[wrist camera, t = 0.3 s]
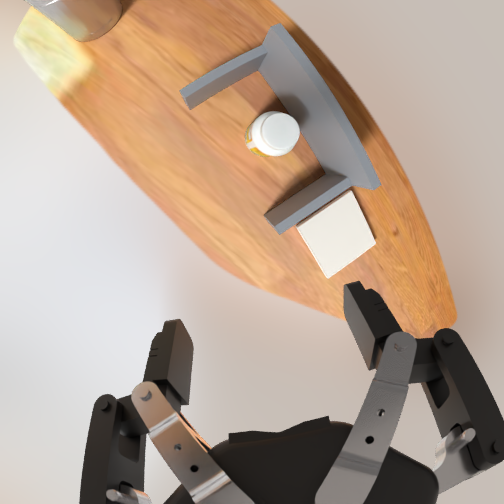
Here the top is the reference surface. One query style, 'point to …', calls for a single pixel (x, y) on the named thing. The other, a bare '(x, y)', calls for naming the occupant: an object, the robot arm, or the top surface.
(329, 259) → the mat
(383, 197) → the top surface
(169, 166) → the top surface
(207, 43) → the top surface
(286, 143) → the supplement bottle
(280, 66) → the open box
